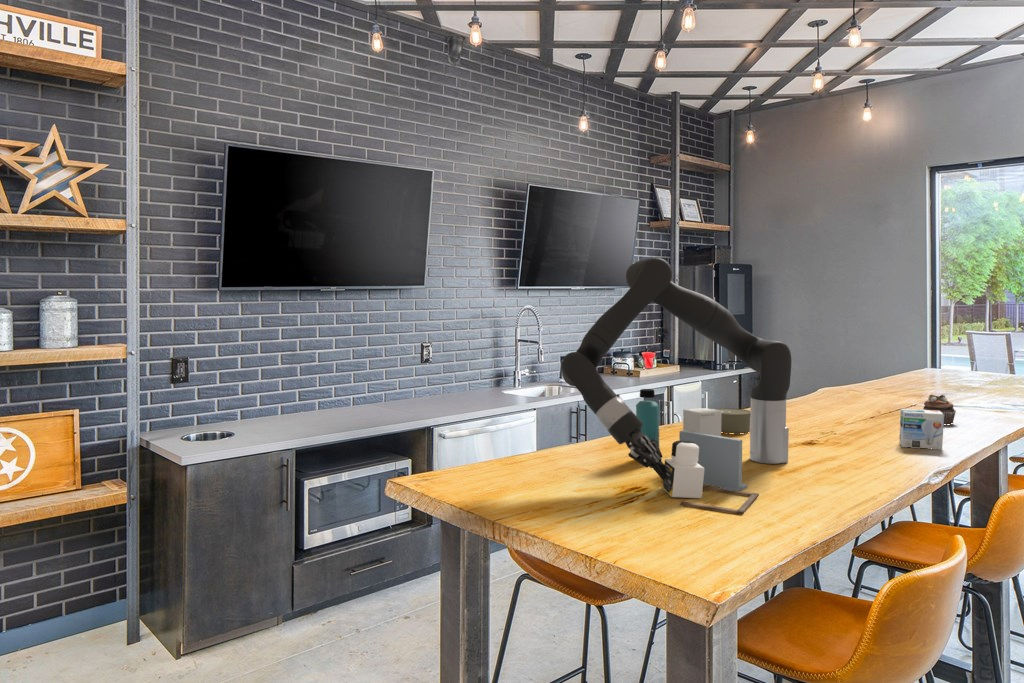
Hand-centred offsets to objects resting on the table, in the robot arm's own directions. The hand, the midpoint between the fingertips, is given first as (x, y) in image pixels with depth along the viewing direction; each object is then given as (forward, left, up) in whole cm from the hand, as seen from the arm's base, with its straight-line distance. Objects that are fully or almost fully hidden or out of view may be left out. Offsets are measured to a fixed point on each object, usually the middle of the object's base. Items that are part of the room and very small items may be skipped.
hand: (667, 477), depth 158 cm
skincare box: (-13, -23, -4) cm, 27 cm away
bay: (-10, +6, -4) cm, 12 cm away
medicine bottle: (-3, +2, -4) cm, 5 cm away
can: (-35, -72, -4) cm, 80 cm away
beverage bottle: (0, -31, -4) cm, 31 cm away
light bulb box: (-84, -48, -4) cm, 97 cm away
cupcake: (-111, -85, -4) cm, 140 cm away
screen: (-11, -7, -4) cm, 14 cm away
